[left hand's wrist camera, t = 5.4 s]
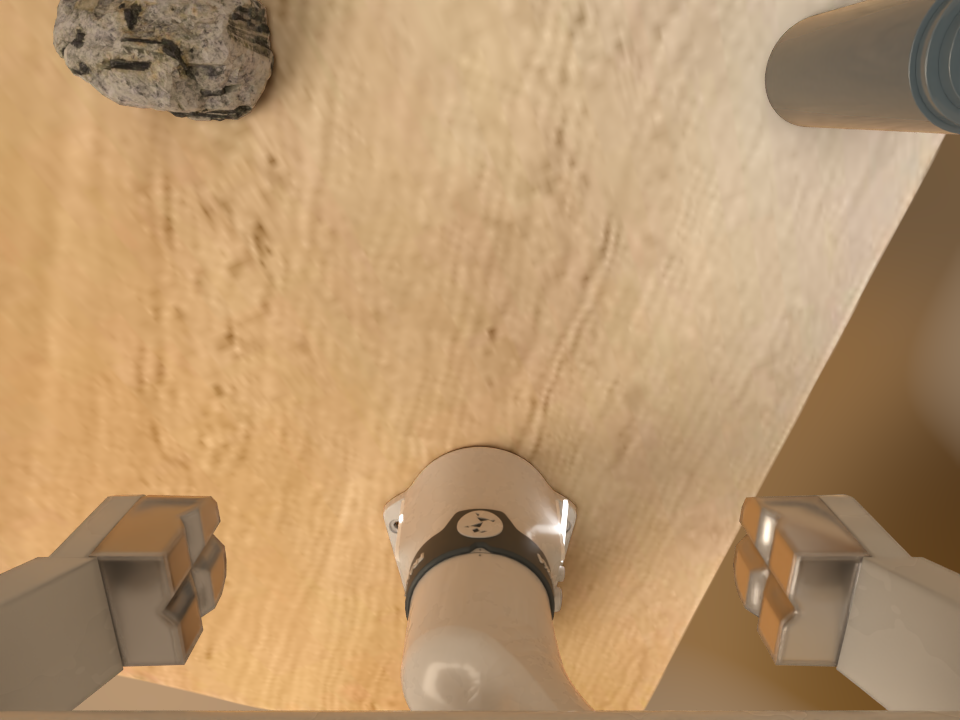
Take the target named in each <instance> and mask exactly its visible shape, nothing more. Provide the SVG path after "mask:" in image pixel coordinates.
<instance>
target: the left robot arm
mask: <svg viewBox="0 0 960 720" xmlns="http://www.w3.org/2000/svg"><path fill="white" fill-rule="evenodd" d="M383 516H384V521H385V524H386V528H387V531H388V535H389V538H390V542H391V545H392V549H393V552H394V555H395V559H396V562H397V566H398V569H399V573H400V576H401V580H402V583H403V587H404V590H405V597H406V600H405V611H406V617H407V620H408V623H407V630H406V638H405V645H404V652H403V659H402V667H401V684H402V690H403V693H404V697H405V700H406V702H407V704H408V706H409V708H410V710H411V711H72V710H73V709H74V708H75V707H77V706H78V705H79V704H81V703H82V702H83V701H84V700H86V699H87V698H88V697H89V696H91V695H92V694H93V693H94V692H96V691H97V690H98V689H99V688H101V687H102V686H103V685H104V684H106V683H107V682H108V681H110V680H111V679H112V678H113V677H115V676H116V675H117V674H118V673H120V672H121V671H122V670H123V666H158V665H185V663H186V661H187V659H188V657H189V655H190V653H191V652H192V650H193V648H194V646H195V644H196V642H197V641H198V639H199V637H200V635H201V633H202V631H203V626H202V620H201V617H202V616H204V615H205V614H207V613H208V612H210V611H211V610H213V609H214V608H215V607H216V605H217V603H218V601H219V599H220V597H221V595H222V591H223V587H224V583H225V578H226V553H225V546H224V545H223V544H222V543H221V542H220V541H219V540H218V539H217V538H216V537H215V536H214V535H213V533H214V531H215V529H216V528H217V526H218V525H219V523H220V516H219V510H218V505H217V502H216V501H215V500H214V499H213V498H212V497H211V496H170V495H147V496H146V495H114V496H109V497H107V498H106V499H105V500H104V501H103V502H102V503H101V504H100V505H99V506H98V507H97V508H96V509H95V510H94V511H93V512H92V513H91V514H90V515H89V516H88V517H87V518H86V519H85V520H84V521H83V522H82V524H81V525H80V526H79V527H78V528H77V529H76V530H75V531H74V532H73V533H72V534H71V535H70V536H69V537H68V538H67V539H66V540H65V541H64V542H63V543H62V544H61V545H60V546H59V547H58V548H57V549H56V550H55V551H54V552H53V553H52V554H51V555H50V556H49V557H37V558H35V559H33V560H31V561H28V562H26V563H24V564H22V565H19V566H17V567H15V568H13V569H11V570H8V571H6V572H4V573H2V574H0V720H960V574H958V573H956V572H954V571H951V570H949V569H947V568H945V567H943V566H940V565H938V564H936V563H934V562H932V561H929V560H927V559H925V558H923V557H911V556H910V555H909V554H908V553H907V552H906V551H905V550H904V549H903V548H902V547H901V546H900V545H899V544H898V543H897V542H896V541H895V540H894V539H893V538H892V537H891V536H890V535H889V534H888V533H887V532H886V531H885V530H884V529H883V527H882V526H881V525H880V524H879V523H878V522H877V521H876V520H875V519H874V518H873V517H872V516H871V515H870V514H869V513H868V512H867V511H866V510H865V509H864V508H863V507H862V506H861V505H860V504H859V503H858V502H857V501H856V500H855V499H854V498H853V497H850V496H848V495H845V494H841V495H815V496H779V497H747V498H746V499H745V501H744V503H743V505H742V509H741V515H740V523H741V525H742V526H743V528H744V529H745V531H746V533H747V535H746V536H745V537H744V538H743V539H742V540H741V541H740V542H739V543H738V544H737V545H736V546H735V554H734V563H733V567H734V578H735V584H736V588H737V591H738V594H739V597H740V599H741V601H742V603H743V605H744V607H745V608H746V609H747V610H749V611H750V612H752V613H753V614H755V615H756V616H758V617H759V620H758V626H757V631H758V633H759V635H760V637H761V639H762V641H763V642H764V644H765V646H766V648H767V650H768V652H769V653H770V655H771V657H772V659H773V661H774V663H775V664H776V665H801V666H837V670H838V671H839V672H841V673H842V674H843V675H844V676H846V677H847V678H848V679H849V680H851V681H852V682H853V683H855V684H856V685H857V686H858V687H860V688H861V689H862V690H863V691H865V692H866V693H867V694H868V695H870V696H871V697H872V698H873V699H875V700H876V701H877V702H878V703H880V704H881V705H882V706H883V707H885V708H886V709H887V710H888V711H594V710H593V708H592V707H591V706H590V705H589V704H588V703H587V702H586V701H585V700H584V698H583V697H582V696H581V695H580V693H579V692H578V691H577V690H576V688H575V687H574V685H573V684H572V682H571V681H570V679H569V677H568V676H567V674H566V672H565V670H564V667H563V664H562V661H561V657H560V653H559V650H558V646H557V642H556V637H555V633H554V627H553V622H552V620H553V617H554V612H559V611H560V608H561V604H562V589H561V588H560V587H557V583H558V582H563V581H564V577H565V567H564V566H563V562H564V559H565V556H566V552H567V549H568V545H569V542H570V538H571V535H572V531H573V528H574V524H575V521H576V516H577V514H576V507H575V505H574V504H573V503H572V502H571V501H570V500H569V499H567V498H566V497H564V496H562V495H561V494H559V493H557V492H555V491H554V490H553V489H552V488H551V487H550V486H549V485H548V483H547V482H546V481H545V479H544V478H543V476H542V475H541V474H540V473H539V471H538V470H537V469H536V468H535V467H533V466H532V465H531V464H530V463H529V462H527V461H526V460H524V459H523V458H521V457H519V456H517V455H515V454H513V453H511V452H508V451H505V450H501V449H497V448H491V447H469V448H463V449H459V450H455V451H452V452H449V453H447V454H445V455H443V456H441V457H439V458H437V459H436V460H434V461H433V462H431V463H430V464H429V465H428V466H427V467H425V468H424V469H423V470H422V471H421V473H420V474H419V475H418V476H417V478H416V479H415V481H414V482H413V483H412V485H411V486H410V487H409V488H408V489H407V490H406V491H405V492H403V493H401V494H399V495H398V496H396V497H394V498H393V499H391V500H390V501H389V502H388V503H387V504H386V505H385V507H384V515H383ZM397 521H399V524H396V523H395V522H397ZM561 521H562V524H561Z"/></svg>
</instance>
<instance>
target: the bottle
mask: <svg viewBox="0 0 960 720" xmlns="http://www.w3.org/2000/svg"><path fill="white" fill-rule="evenodd" d="M765 85H766V92H767V96H768V99H769V101H770V103H771V105H772V107H773V109H774V110H775V111H776V113H777V114H778V115H779V116H780V117H782V118H783V119H784V120H786V121H787V122H789V123H791V124H794V125H797V126H802V127H818V128H838V129H859V130H879V131H900V132H921V133H941V134H960V0H866V1H863V2H859V3H856V4H852V5H849V6H845V7H842V8H838V9H835V10H831V11H828V12H824V13H821V14H817V15H814V16H811V17H808V18H806V19H803V20H802V21H800V22H798V23H796V24H795V25H794V26H792V27H791V28H790V29H789V30H788V31H786V32H785V34H784V35H783V36H782V37H781V38H780V39H779V41H778V42H777V44H776V45H775V47H774V49H773V51H772V53H771V55H770V57H769V60H768V64H767V68H766V74H765Z"/></svg>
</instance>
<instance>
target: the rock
mask: <svg viewBox="0 0 960 720" xmlns="http://www.w3.org/2000/svg"><path fill="white" fill-rule="evenodd" d="M53 35H54V40H53V44H54V47H55V49H56V51H57V53H58V54H59V55H60V57H61V58H63V59H64V60H65V63H66V65H67V66H68V68H69V69H70V70H71V72H72V73H73V74H74V75H75V76H78V77H80V78H82V79H83V80H85V81H86V82H88V83H90V84H91V85H92V86H93V87H94V88H95V89H97V90H98V91H99V92H100V93H101V94H102V95H104V96H105V97H107V98H109V99H110V100H112V101H114V102H116V103H117V104H119V105H124V106H131V107H138V108H152V109H155V110H159V111H168V112H170V113H172V114H173V115H175V116H177V117H188V118H189V119H193V120H199V121H210V120H218V121H222V120H224V119H235V120H238V119H240V118H241V117H243V116H245V115H247V114H248V113H250V112H251V111H252V109H253V108H254V107H255V105H256V103H257V101H258V100H259V98H260V96H261V94H262V93H263V92H264V90H265V87H266V83H267V80H268V79H269V78H270V76H271V74H272V69H273V64H274V56H273V53H272V50H271V49H270V40H269V35H270V32H269V28H268V26H267V14H266V7H265V6H264V5H263V4H262V3H260V2H259V1H257V0H60V3H59V5H58V8H57V19H56V21H55V26H54V31H53Z"/></svg>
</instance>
